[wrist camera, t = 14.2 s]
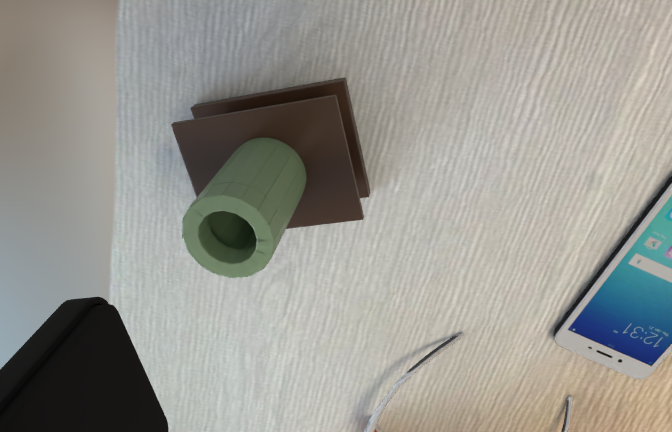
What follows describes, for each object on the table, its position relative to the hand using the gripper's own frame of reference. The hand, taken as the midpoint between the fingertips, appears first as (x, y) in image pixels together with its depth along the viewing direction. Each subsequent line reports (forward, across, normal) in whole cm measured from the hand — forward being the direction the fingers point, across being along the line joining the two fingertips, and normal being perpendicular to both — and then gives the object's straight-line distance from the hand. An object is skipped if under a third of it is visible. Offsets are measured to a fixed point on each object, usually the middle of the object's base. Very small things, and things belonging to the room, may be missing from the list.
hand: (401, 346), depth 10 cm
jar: (+26, +12, +7) cm, 30 cm away
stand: (+30, +12, +7) cm, 33 cm away
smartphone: (+30, -12, +20) cm, 38 cm away
